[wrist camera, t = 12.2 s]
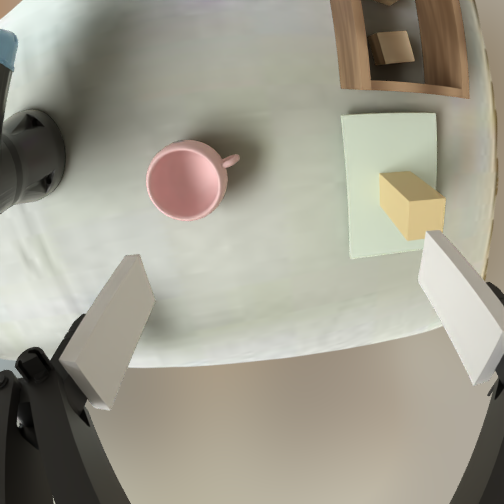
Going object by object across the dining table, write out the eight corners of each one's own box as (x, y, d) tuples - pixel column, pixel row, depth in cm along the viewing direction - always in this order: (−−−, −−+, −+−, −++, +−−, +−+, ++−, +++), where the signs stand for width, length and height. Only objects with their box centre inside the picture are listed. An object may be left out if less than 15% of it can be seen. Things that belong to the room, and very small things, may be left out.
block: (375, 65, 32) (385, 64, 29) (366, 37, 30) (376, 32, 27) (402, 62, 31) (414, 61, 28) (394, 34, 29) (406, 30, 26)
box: (340, 88, 34) (361, 89, 26) (320, -48, 24) (333, -78, 16) (431, 92, 33) (469, 98, 24) (413, -36, 23) (444, -57, 15)
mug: (179, 215, 44) (167, 234, 39) (146, 154, 40) (129, 166, 35) (256, 184, 41) (254, 200, 36) (226, 116, 37) (219, 121, 32)
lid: (347, 250, 46) (368, 303, 35) (337, 113, 36) (366, 126, 25) (424, 240, 44) (460, 287, 33) (427, 111, 34) (478, 126, 23)
